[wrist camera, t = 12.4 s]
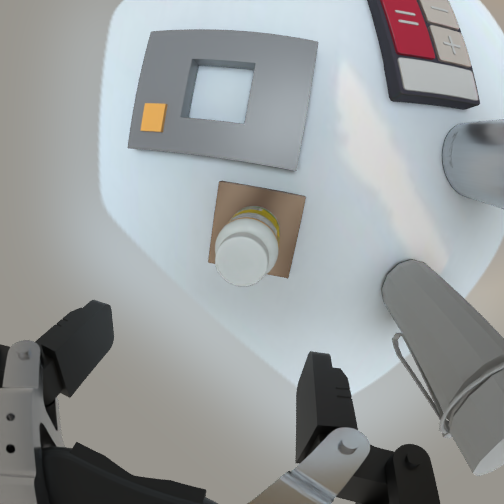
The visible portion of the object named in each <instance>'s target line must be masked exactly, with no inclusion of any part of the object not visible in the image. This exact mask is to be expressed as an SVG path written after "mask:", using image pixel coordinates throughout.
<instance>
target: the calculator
mask: <svg viewBox="0 0 504 504" xmlns="http://www.w3.org/2000/svg"><path fill="white" fill-rule="evenodd" d="M367 1H368V4H369V7H370V11H371V14H372V18H373V21H374V25H375V29H376V32H377V36H378V40H379V44H380V48H381V52H382V56H383V60H384V70H385V75H386V81H387V87H388V93H389V98H390V100H391V101H395V102H408V103H419V104H428V105H436V106H444V107H451V108H457V109H468V108H471V107H474V106H478V105H479V104H480V101H479V96H478V91H477V87H476V82H475V78H474V74H473V70H472V66H471V62H470V58H469V55H468V52H467V48H466V45H465V42H464V39H463V36H462V34H461V31H460V28H459V25H458V22H457V20H456V17H455V14H454V12H453V10H452V7H451V5H450V2H449V1H448V0H367Z"/></svg>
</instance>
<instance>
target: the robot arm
mask: <svg viewBox="0 0 504 504" xmlns="http://www.w3.org/2000/svg"><path fill="white" fill-rule="evenodd" d="M442 157H443V166H444V170H445V174H446V176H447V179H448V181H449V182H450V184H451V186H452V187H453V188H454V189H455V190H456V191H457V192H458V193H459V194H461V195H462V196H465V197H468V198H471V199H474V200H478V201H481V202H484V203H487V204H490V205H493V206H496V207H499V208H502V209H504V119H502V120H490V121H479V122H470V123H462V124H459V125H456V126H455V127H454V128H452V129H451V131H450V132H449V133H448V135H447V137H446V139H445V142H444V146H443V155H442ZM113 340H114V331H113V322H112V311H111V307H110V305H108V304H105V303H102V302H99V301H96V300H92V301H90V302H89V303H88V304H87V305H86V306H84V307H83V308H79V309H76V310H74V311H72V312H70V313H69V314H67V315H66V316H65V317H64V318H63V320H60V321H59V322H58V323H57V325H54V326H53V327H52V328H51V329H50V330H48V331H47V332H46V333H45V334H44V335H42V336H41V337H40V338H39V339H38V340H37V341H36V342H33V341H30V340H23V341H19V342H16V343H15V344H13V345H12V346H11V347H8V346H4V345H0V504H218V503H216V502H214V501H212V500H210V499H208V498H206V497H205V496H206V490H205V489H201V488H196V487H192V486H188V485H185V484H181V483H178V482H174V481H171V480H161V479H153V478H145V477H138V476H133V475H131V474H130V473H128V472H127V471H125V470H124V469H122V468H121V467H119V466H118V465H117V464H115V463H114V462H112V461H111V460H110V459H108V458H107V457H106V456H104V455H102V454H100V453H98V452H96V451H93V450H92V449H90V448H88V447H86V446H84V445H82V444H80V443H78V442H76V444H75V445H74V447H73V448H66V447H65V445H64V443H63V439H62V434H61V425H60V416H59V403H58V399H57V396H58V394H59V393H62V394H64V395H66V396H68V397H71V396H72V395H73V394H74V392H75V391H76V390H77V389H78V387H79V386H80V385H81V383H82V382H83V381H84V380H85V379H86V377H87V376H88V375H89V374H90V373H91V371H92V370H93V369H94V368H95V367H96V365H97V364H98V363H99V362H100V360H101V359H102V358H103V357H104V356H105V355H106V353H107V352H108V351H109V350H110V348H111V346H112V344H113ZM349 389H350V387H349V382H348V378H347V377H346V375H345V374H344V373H343V371H342V370H341V369H340V368H332V363H331V357H330V354H325V353H318V352H311V351H310V352H309V354H308V357H307V360H306V362H305V365H304V368H303V371H302V374H301V377H300V379H299V382H298V387H297V395H296V463H300V464H299V465H298V466H297V467H296V468H295V469H294V470H292V471H291V472H290V471H288V472H287V473H285V474H284V475H282V476H281V477H280V478H279V479H278V480H276V481H275V482H274V483H273V484H272V485H270V486H269V487H268V488H267V489H266V490H264V491H263V492H262V493H261V494H259V495H258V496H257V497H256V498H255V499H253V500H252V501H250V502H249V503H248V504H331V503H332V502H333V499H334V498H335V497H339V498H342V499H346V500H350V501H354V502H356V504H440V500H439V495H438V490H437V486H436V482H435V477H434V473H433V468H432V465H431V461H430V457H429V455H428V454H427V452H426V451H425V450H424V449H423V448H421V447H419V446H417V445H414V444H406V445H402V446H400V447H399V448H398V449H397V450H396V451H395V452H393V451H389V450H384V449H380V448H377V447H374V446H372V445H370V443H369V441H368V439H367V437H366V436H365V435H364V434H363V433H362V432H360V431H358V428H357V422H356V417H355V412H354V407H353V402H352V399H351V392H350V390H349Z"/></svg>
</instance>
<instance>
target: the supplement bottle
mask: <svg viewBox="0 0 504 504" xmlns="http://www.w3.org/2000/svg"><path fill="white" fill-rule="evenodd" d="M279 238H280V229H279V224H278V221H277V219H276V217H275V216H274V215H273V214H272V213H271V212H270V211H268V210H267V209H265V208H262V207H258V206H249V207H245V208H243V209H241V210H239V211H238V212H237V213H236V214H235V215H234V216H233V217H232V218H231V219H230V221H229V222H228V223H227V224H226V225H225V226H224V227H223V229H222V230H221V231H220V233H219V234H218V237H217V239H216V243H215V254H216V256H215V264H216V268H217V270H218V272H219V274H220V275H221V277H222V278H223V279H224V280H225V281H227V282H228V283H230V284H232V285H235V286H240V287H246V286H251V285H253V284H255V283H257V282H259V281H260V280H261V279H262V278H263V276H265V275H266V274H267V273H268V272H269V271H270V270H271V269H272V268H273V267H274V265H275V263H276V261H277V257H278V251H279Z"/></svg>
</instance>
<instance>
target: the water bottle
mask: <svg viewBox="0 0 504 504" xmlns="http://www.w3.org/2000/svg"><path fill="white" fill-rule="evenodd" d="M382 293H383V301H384V304H385V305H386V307H387V309H388V310H389V312H390V314H391V315H392V317H393V319H394V320H395V322H396V324H397V325H398V327H399V329H400V330H401V332H402V334H401V333H396V334H395V335H394V337H393V338H392V341H393V346H394V349H395V352H396V354H397V356H398V357H399V359H400V360H401V362H402V363H403V364H404V366H405V367H406V369H407V370H408V372H409V373H410V375H411V376H412V378H413V379H414V381H415V382H416V384H417V385H418V387H419V388H420V390H421V391H422V392H423V394H424V396H425V397H426V399H427V400H428V402H429V403H430V405H431V406H432V408H433V409H434V411H435V413H436V414H437V416H438V417H439V419H440V428H439V429H440V432H442V435H443V437H444V438H451V437H453V439H454V441H455V442H456V444H457V446H458V448H459V449H460V451H461V453H462V454H463V456H464V458H465V460H466V462H467V464H468V465H469V467H470V469H471V471H472V473H473V474H475V475H477V476H480V475H483V474H486V473H489V472H492V471H494V470H495V469H497V468H499V467H500V466H502V465H504V338H503V337H502V336H501V335H500V334H499V333H498V332H497V331H496V330H495V329H494V328H493V327H492V326H491V325H490V324H489V323H488V322H487V321H486V319H485V318H484V317H482V315H481V314H480V313H478V312H477V311H476V310H475V309H474V308H473V307H472V306H471V305H470V304H469V303H468V302H467V301H466V300H465V299H464V298H463V297H462V296H461V295H460V294H459V293H458V292H457V291H456V290H454V289H453V288H452V287H451V286H450V285H449V284H448V283H447V282H446V281H445V280H443V279H442V278H441V277H440V276H439V275H438V274H437V273H435V272H434V271H433V270H432V269H431V268H430V267H429V266H427V265H426V264H425V263H423V262H420V261H416V260H409V261H406V262H403V263H399V264H398V265H397V266H396V267H395V268H394V269H393V270H392V271H391V272H390V273H389V274H388V275H387V277H386V280H385V282H384V285H383V287H382ZM400 336H402V337H403V339H404V341H405V342H406V344H407V346H408V348H409V350H410V352H411V354H412V356H413V358H414V360H415V362H416V364H417V366H418V368H419V370H420V372H421V374H422V377H423V379H424V381H425V383H426V385H427V387H428V389H429V392H430V394H431V396H432V399H433V401H434V402H433V401H432V399H431V398H430V396H429V395H428V393H427V392H426V390H425V389H424V387H423V386H422V384H421V383H420V381H419V380H418V378H417V377H416V375H415V374H414V372H413V371H412V369H411V368H410V366H409V365H408V364H407V362H406V361H405V359H404V358H403V356H402V354H401V352H400V349H399V347H398V341H397V340H398V339H399V337H400ZM434 403H435V404H434ZM441 408H442V409H441ZM442 410H443V411H442ZM443 412H444V413H443ZM446 418H447V419H448V420H449V421H447V420H446Z"/></svg>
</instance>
